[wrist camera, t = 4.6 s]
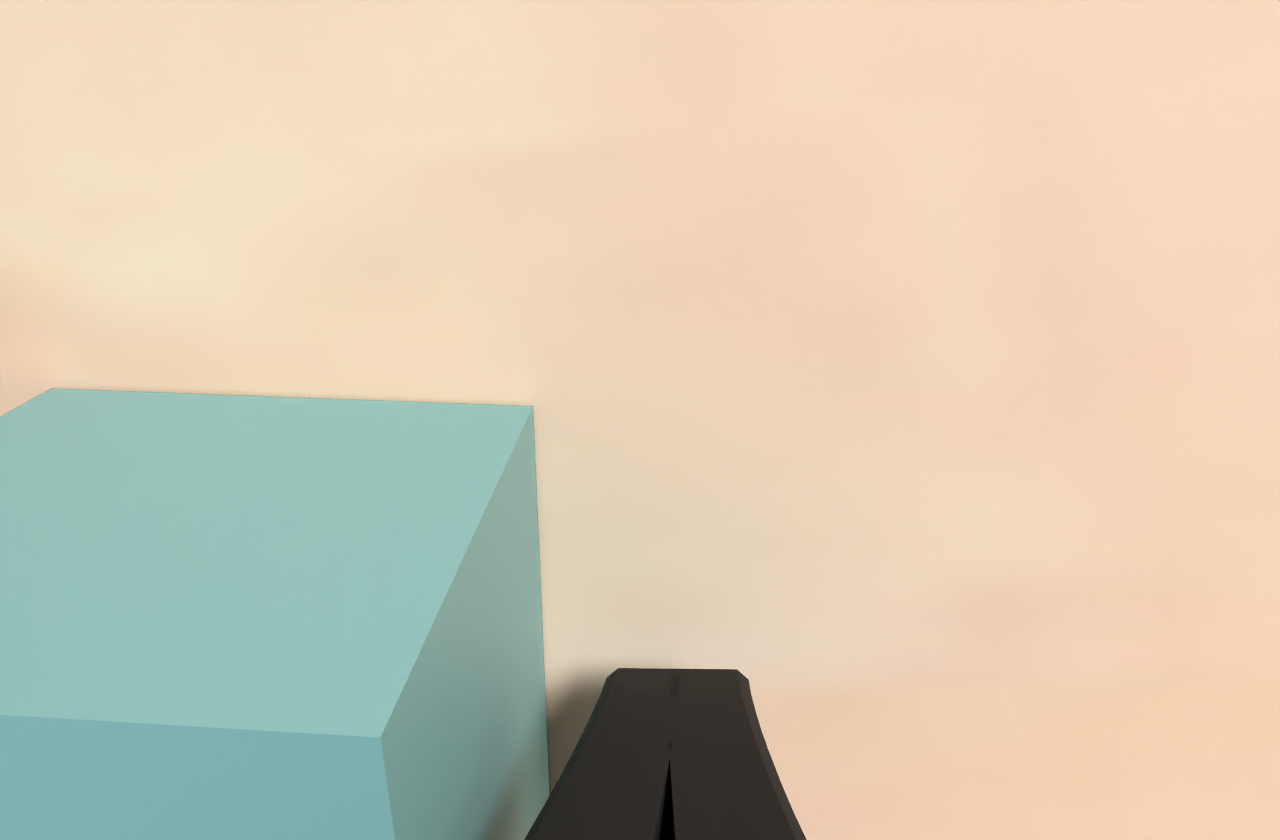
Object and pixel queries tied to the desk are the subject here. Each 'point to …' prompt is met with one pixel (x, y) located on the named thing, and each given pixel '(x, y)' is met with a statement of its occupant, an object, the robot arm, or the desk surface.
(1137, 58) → the desk surface
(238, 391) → the desk surface
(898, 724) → the desk surface
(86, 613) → the teal block
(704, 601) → the desk surface
